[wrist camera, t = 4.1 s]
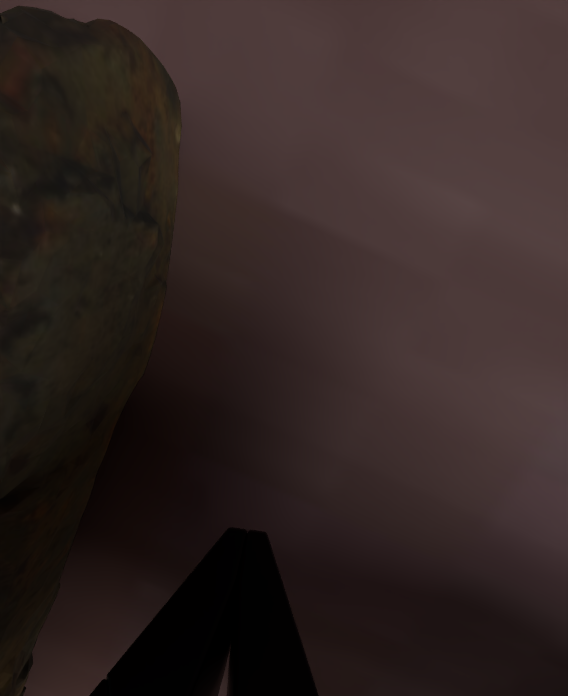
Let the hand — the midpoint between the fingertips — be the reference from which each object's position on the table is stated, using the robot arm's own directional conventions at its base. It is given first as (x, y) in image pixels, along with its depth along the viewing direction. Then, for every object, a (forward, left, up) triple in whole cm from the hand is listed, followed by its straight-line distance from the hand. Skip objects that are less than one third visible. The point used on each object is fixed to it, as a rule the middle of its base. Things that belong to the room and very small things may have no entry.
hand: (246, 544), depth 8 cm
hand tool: (+6, 0, -2) cm, 6 cm away
